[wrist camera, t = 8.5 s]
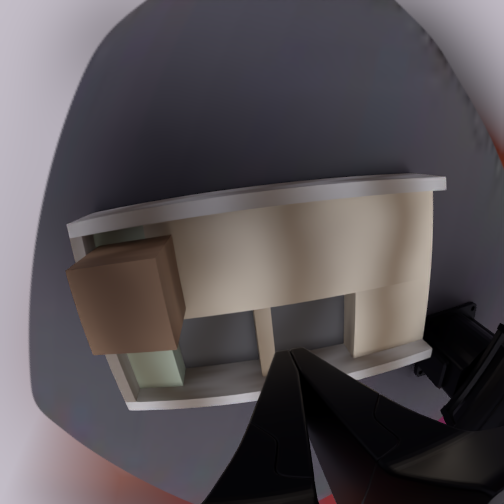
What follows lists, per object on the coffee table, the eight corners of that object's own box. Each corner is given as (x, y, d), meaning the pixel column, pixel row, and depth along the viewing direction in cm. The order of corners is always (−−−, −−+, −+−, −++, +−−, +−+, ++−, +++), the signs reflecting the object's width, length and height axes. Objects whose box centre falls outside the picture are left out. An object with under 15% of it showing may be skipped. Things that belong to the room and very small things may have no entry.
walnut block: (171, 234, 17) (155, 258, 13) (186, 308, 18) (177, 349, 14) (99, 245, 17) (65, 270, 12) (117, 315, 18) (93, 354, 14)
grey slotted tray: (411, 173, 20) (445, 177, 16) (406, 332, 23) (430, 357, 19) (93, 212, 18) (66, 224, 15) (140, 376, 22) (129, 410, 18)
